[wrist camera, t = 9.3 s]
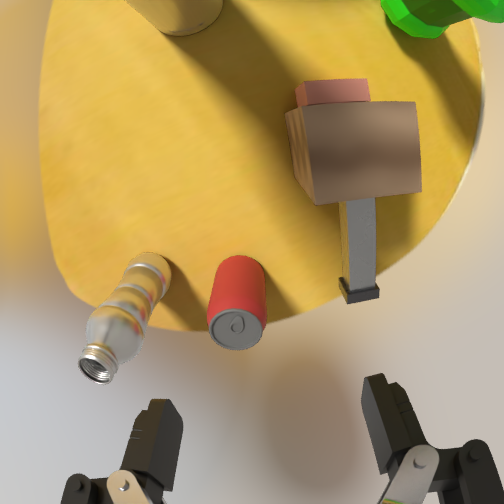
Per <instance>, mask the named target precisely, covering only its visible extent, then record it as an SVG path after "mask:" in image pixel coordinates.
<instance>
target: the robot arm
mask: <svg viewBox="0 0 504 504" xmlns="http://www.w3.org/2000/svg"><path fill="white" fill-rule="evenodd" d="M124 1H126V2H127V3H128V4H129V5H130V6H132V7H133V8H134V9H135V10H136V11H138V12H139V13H140V14H141V15H142V16H143V17H144V18H146V19H147V20H148V21H149V22H150V23H151V24H152V25H153V26H155V27H156V28H157V29H158V30H160V31H161V32H163V33H165V34H168V35H173V36H185V35H191V34H194V33H197V32H199V31H201V30H203V29H205V28H206V27H208V26H209V25H210V24H212V23H213V22H214V21H215V20H216V19H217V17H218V16H219V14H220V12H221V10H222V7H223V0H124ZM361 404H362V409H363V414H364V417H365V420H366V424H367V427H368V431H369V434H370V438H371V441H372V445H373V448H374V452H375V456H376V460H377V463H378V467H379V471H380V474H384V473H388V475H389V479H390V480H389V482H388V484H387V486H386V488H385V490H384V492H383V493H382V496H381V497H380V499H379V501H378V503H377V504H422V503H423V501H424V498H425V496H426V494H427V493H428V492H437V493H438V497H439V502H440V504H504V490H503V487H502V484H501V480H500V477H499V474H498V471H497V468H496V466H495V463H494V460H493V457H492V454H491V452H490V450H489V447H488V445H487V444H486V443H485V442H484V441H482V440H478V439H474V440H470V441H468V442H467V443H466V444H465V445H463V447H459V448H451V449H437V448H435V447H433V446H431V445H430V444H429V443H428V442H427V441H426V439H425V436H424V434H423V432H422V429H421V427H420V424H419V422H418V419H417V417H416V414H415V412H414V411H413V407H412V405H411V403H410V401H409V398H408V396H407V393H406V391H405V390H404V389H403V388H402V387H401V386H400V385H399V384H398V383H397V382H395V383H391V384H388V383H387V380H386V378H385V376H384V374H383V373H380V374H376V375H372V376H368V377H365V378H364V384H363V391H362V398H361ZM182 433H183V421H182V418H181V416H180V415H179V413H178V412H177V410H176V408H175V407H174V405H173V404H172V402H171V400H169V399H152V400H151V401H150V404H149V406H148V410H142V411H141V413H140V414H139V415H138V416H137V418H136V419H135V422H134V425H133V431H132V432H131V435H130V439H129V441H128V445H127V448H126V451H125V455H124V458H123V462H122V465H121V468H120V469H119V470H118V471H115V472H113V473H112V474H111V475H110V476H109V477H107V478H98V479H89V478H88V477H86V476H85V475H83V474H74V475H72V476H70V477H69V478H68V480H67V482H66V485H65V489H64V492H63V496H62V500H61V504H167V503H166V501H165V500H164V498H163V497H162V496H163V491H172V490H173V484H174V477H175V472H176V466H177V461H178V455H179V449H180V444H181V439H182Z"/></svg>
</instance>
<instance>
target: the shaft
mask: <svg viewBox="0 0 504 504" xmlns="http://www.w3.org/2000/svg"><path fill="white" fill-rule="evenodd" d="M338 204H339V217H340V231H341V249H342V273H343V277H340V278H339V288H340V290H341V292H342V294H343V296H344V298H345V301H346V302H347V304H351V303H356V302H361V301H366V300H371V299H376V298H379V290H380V289H379V287H378V286H377V284H376V283H375V277H376V210H375V198H367V199H359V200H352V201H344V202H338Z"/></svg>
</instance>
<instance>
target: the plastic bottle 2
mask: <svg viewBox="0 0 504 504" xmlns="http://www.w3.org/2000/svg"><path fill="white" fill-rule="evenodd" d="M381 7H382V9H383V10H384V11H385V13H386V14H387V16H388V17H389V19H390V20H391V22H392V24H394V25H395V26H397V27H398V28H400V29H401V30H403V31H404V32H406V33H407V34H409V35H410V36H414V37H422V38H431V39H434V38H437V37H439V36H440V35H441V34H442V33H443V32H444V31H445V30H446V29H447V28H448V27H449V25H451V24H454V23H457V22H460V21H463V20H466V19H469V18H472V17H476V18H479V19H482V20H485V21H488V22H494V23H503V22H504V0H381Z"/></svg>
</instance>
